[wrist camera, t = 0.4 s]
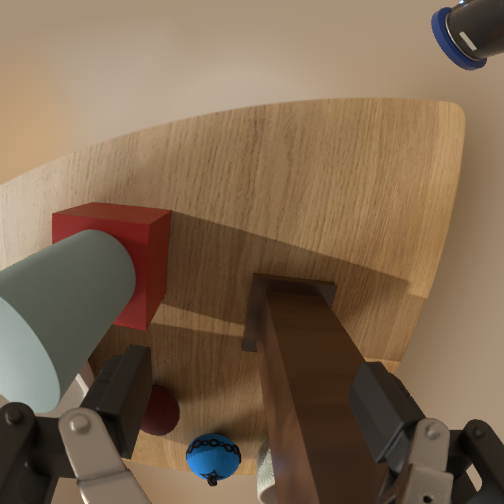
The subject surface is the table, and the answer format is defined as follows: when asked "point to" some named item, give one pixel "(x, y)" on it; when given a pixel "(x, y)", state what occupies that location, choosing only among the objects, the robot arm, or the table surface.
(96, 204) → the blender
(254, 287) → the stand
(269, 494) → the planter
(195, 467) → the ornament
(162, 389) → the dark red rounded piece
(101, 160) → the table surface
